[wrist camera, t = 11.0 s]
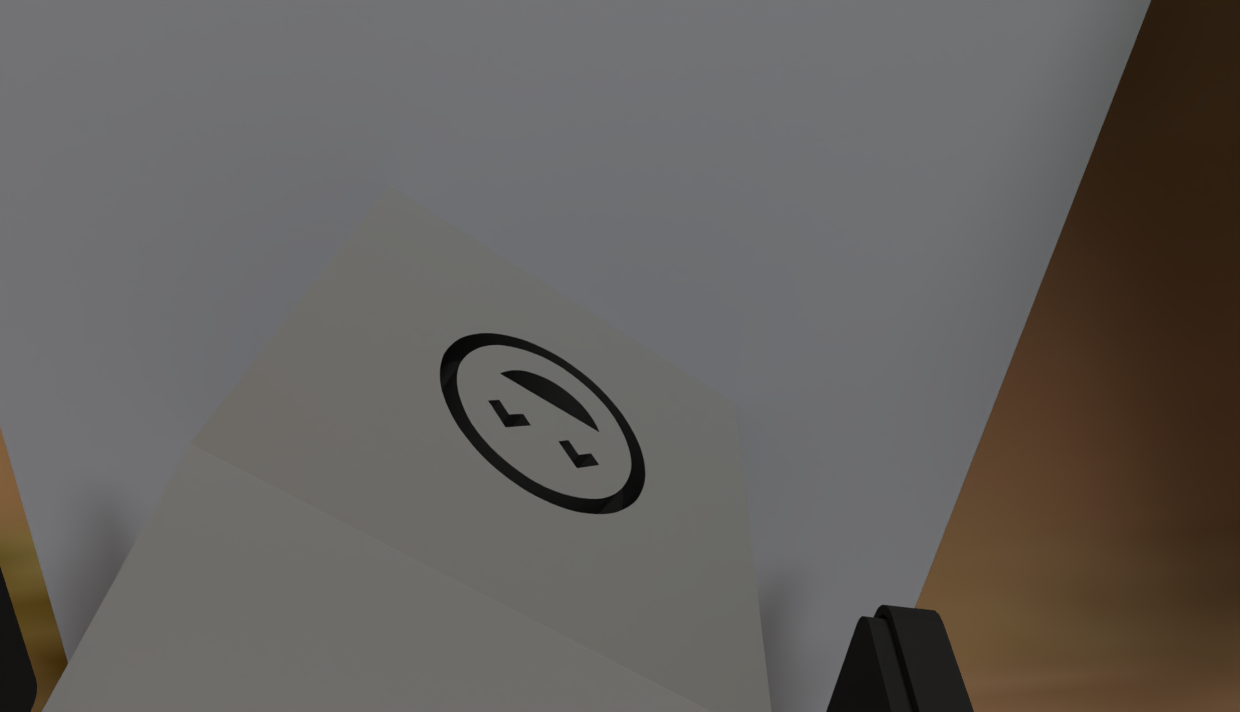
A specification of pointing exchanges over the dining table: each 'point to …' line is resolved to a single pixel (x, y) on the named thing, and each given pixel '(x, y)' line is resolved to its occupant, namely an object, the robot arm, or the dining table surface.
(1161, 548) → the dining table surface
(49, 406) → the gray board
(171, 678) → the dice cube
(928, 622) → the robot arm
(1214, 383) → the dining table surface
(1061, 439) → the dining table surface
